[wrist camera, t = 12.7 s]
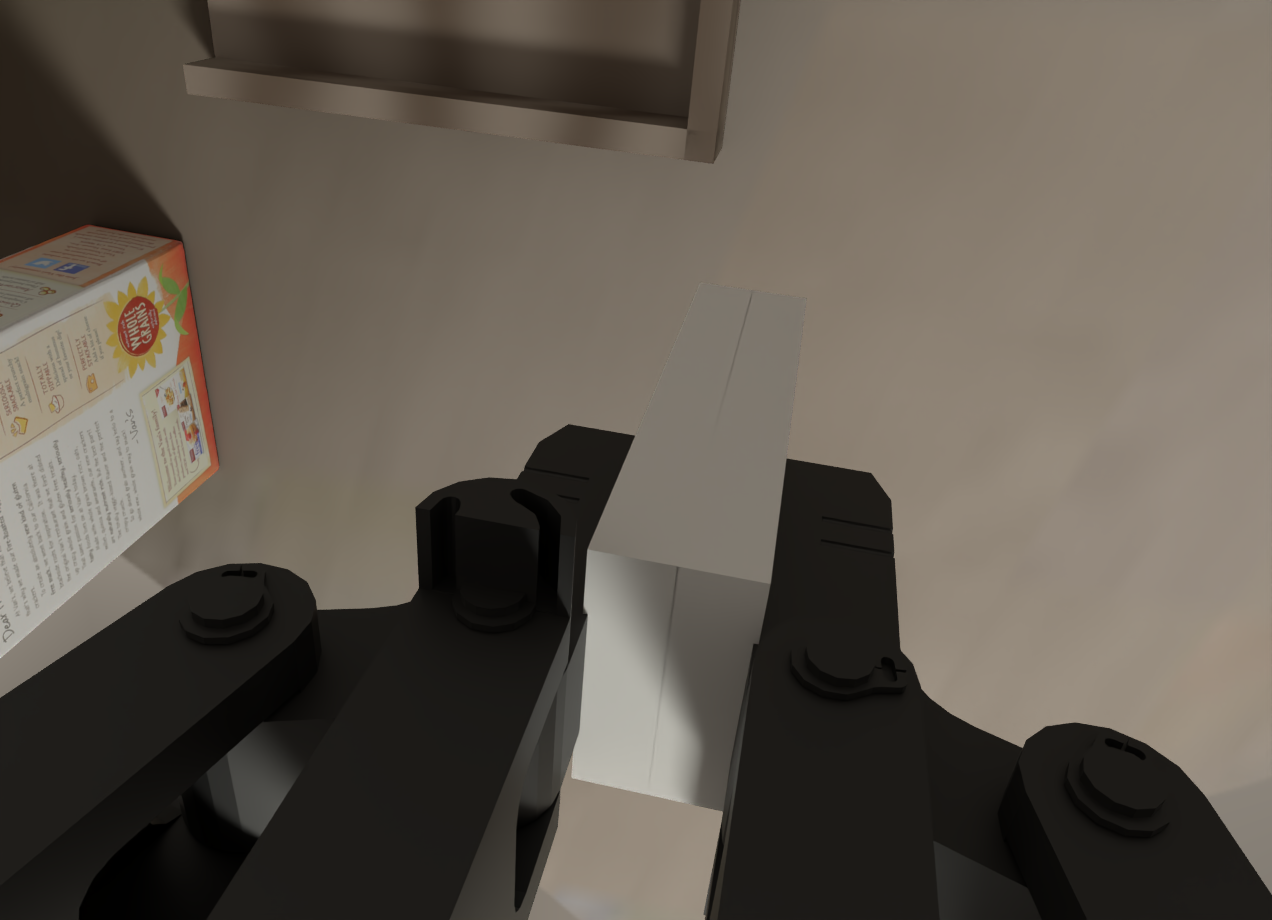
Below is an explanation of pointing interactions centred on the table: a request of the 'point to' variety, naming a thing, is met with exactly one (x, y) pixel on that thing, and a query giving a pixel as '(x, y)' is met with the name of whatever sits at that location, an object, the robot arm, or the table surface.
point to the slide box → (489, 66)
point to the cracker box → (92, 410)
